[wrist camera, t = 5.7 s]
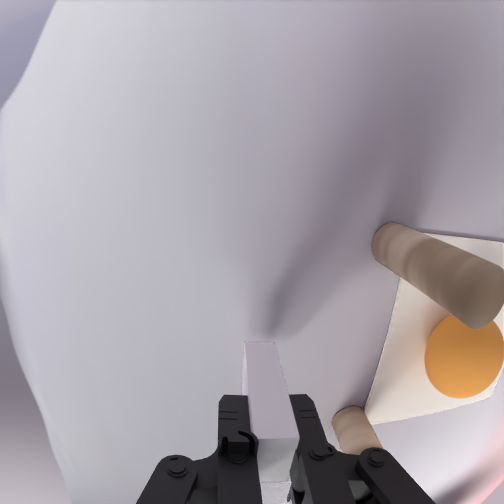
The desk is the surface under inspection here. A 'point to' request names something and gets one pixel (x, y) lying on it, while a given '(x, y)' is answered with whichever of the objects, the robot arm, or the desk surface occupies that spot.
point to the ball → (463, 357)
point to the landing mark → (420, 349)
